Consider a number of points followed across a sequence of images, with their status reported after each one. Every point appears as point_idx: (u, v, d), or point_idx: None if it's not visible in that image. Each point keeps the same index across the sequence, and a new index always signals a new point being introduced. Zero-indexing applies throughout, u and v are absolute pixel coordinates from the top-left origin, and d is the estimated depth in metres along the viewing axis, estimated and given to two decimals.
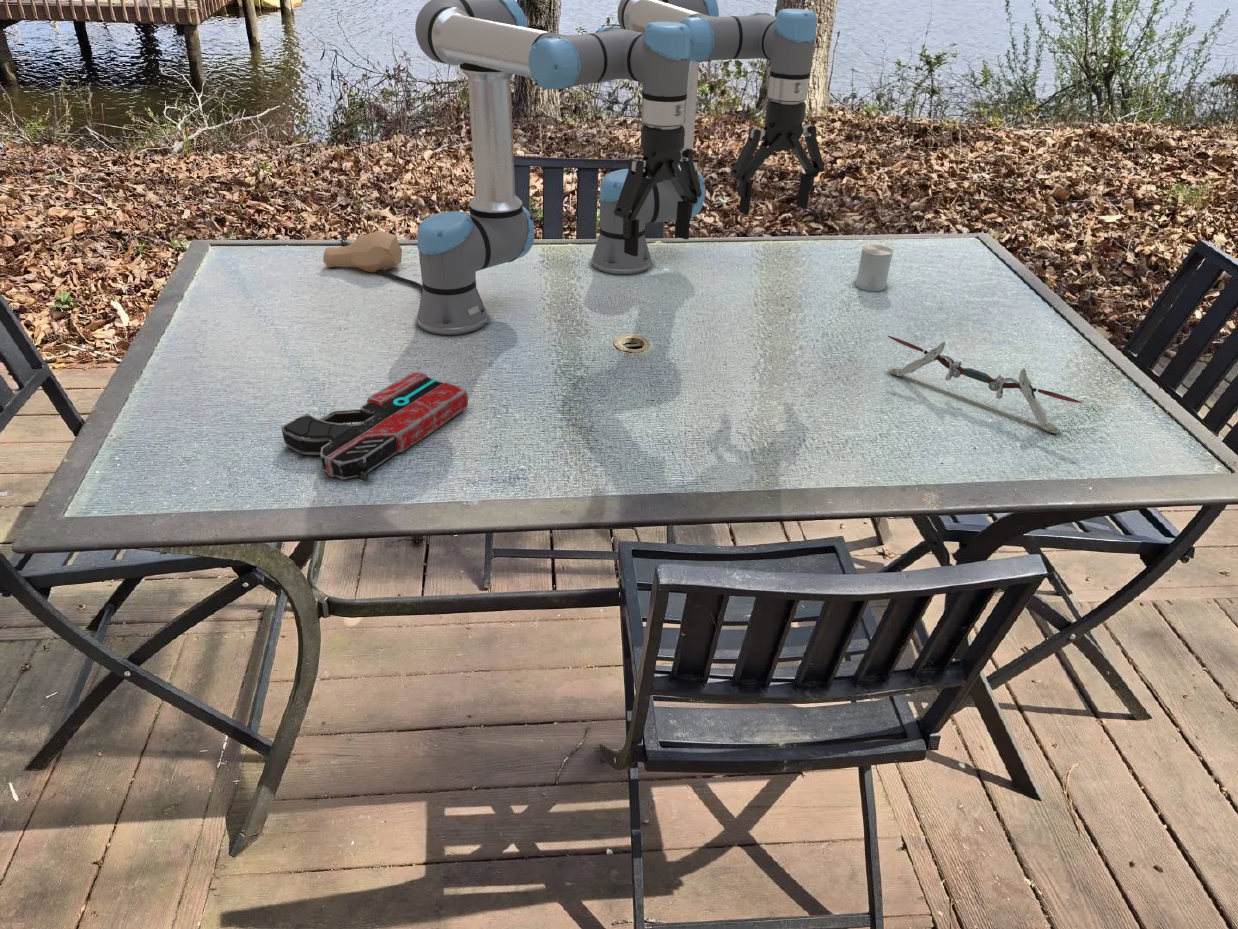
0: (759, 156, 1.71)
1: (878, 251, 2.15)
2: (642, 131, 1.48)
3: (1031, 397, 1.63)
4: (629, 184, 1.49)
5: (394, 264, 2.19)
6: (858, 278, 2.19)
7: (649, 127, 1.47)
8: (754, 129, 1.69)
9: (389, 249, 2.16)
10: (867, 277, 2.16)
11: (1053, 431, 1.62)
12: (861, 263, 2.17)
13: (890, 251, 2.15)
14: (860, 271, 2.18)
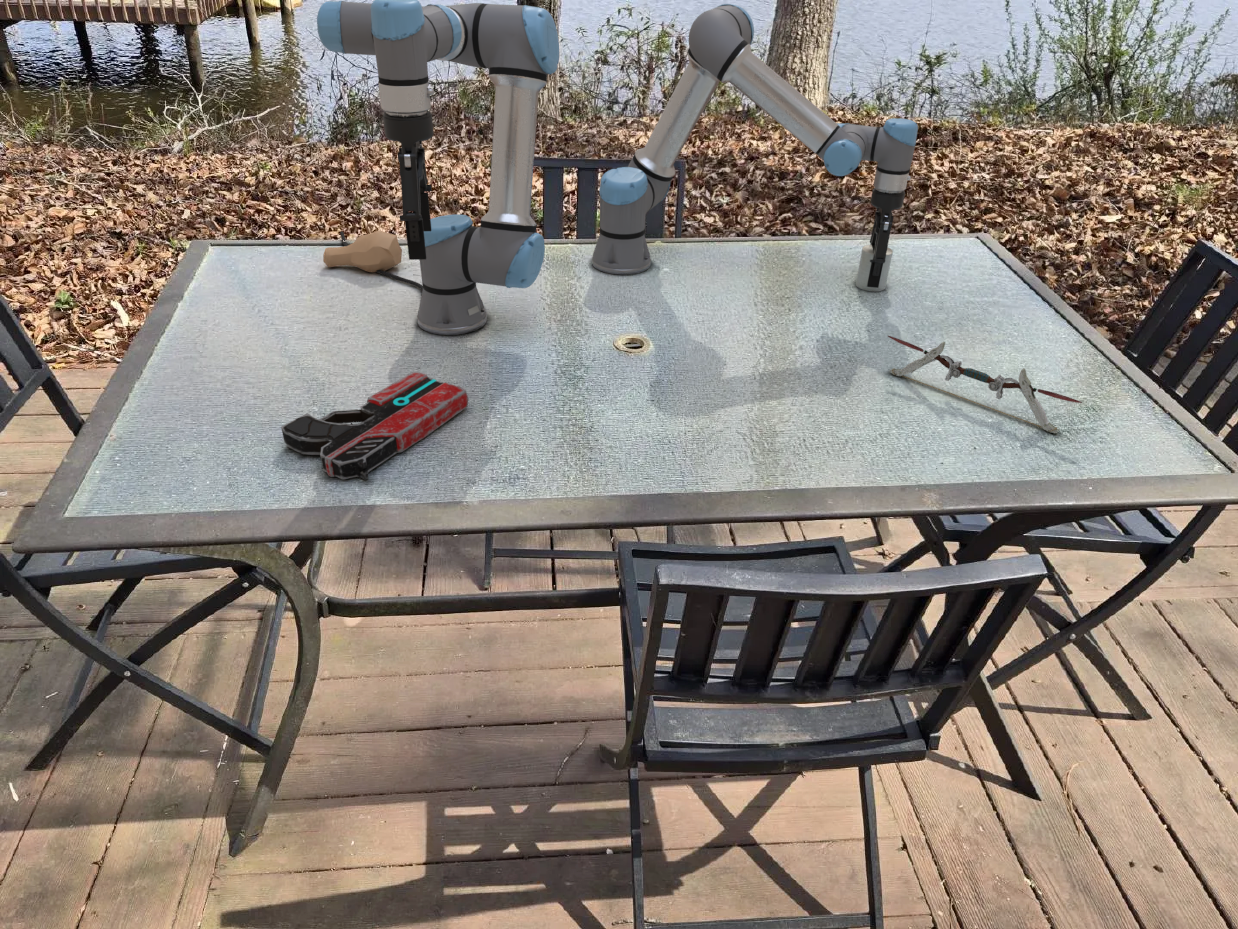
0: None
1: None
2: (395, 122, 1.33)
3: (1031, 397, 1.63)
4: (409, 182, 1.34)
5: (394, 264, 2.19)
6: (858, 278, 2.19)
7: (403, 116, 1.33)
8: (887, 223, 2.05)
9: (389, 249, 2.16)
10: (867, 277, 2.16)
11: (1053, 431, 1.62)
12: (861, 263, 2.17)
13: (890, 251, 2.15)
14: (860, 271, 2.18)
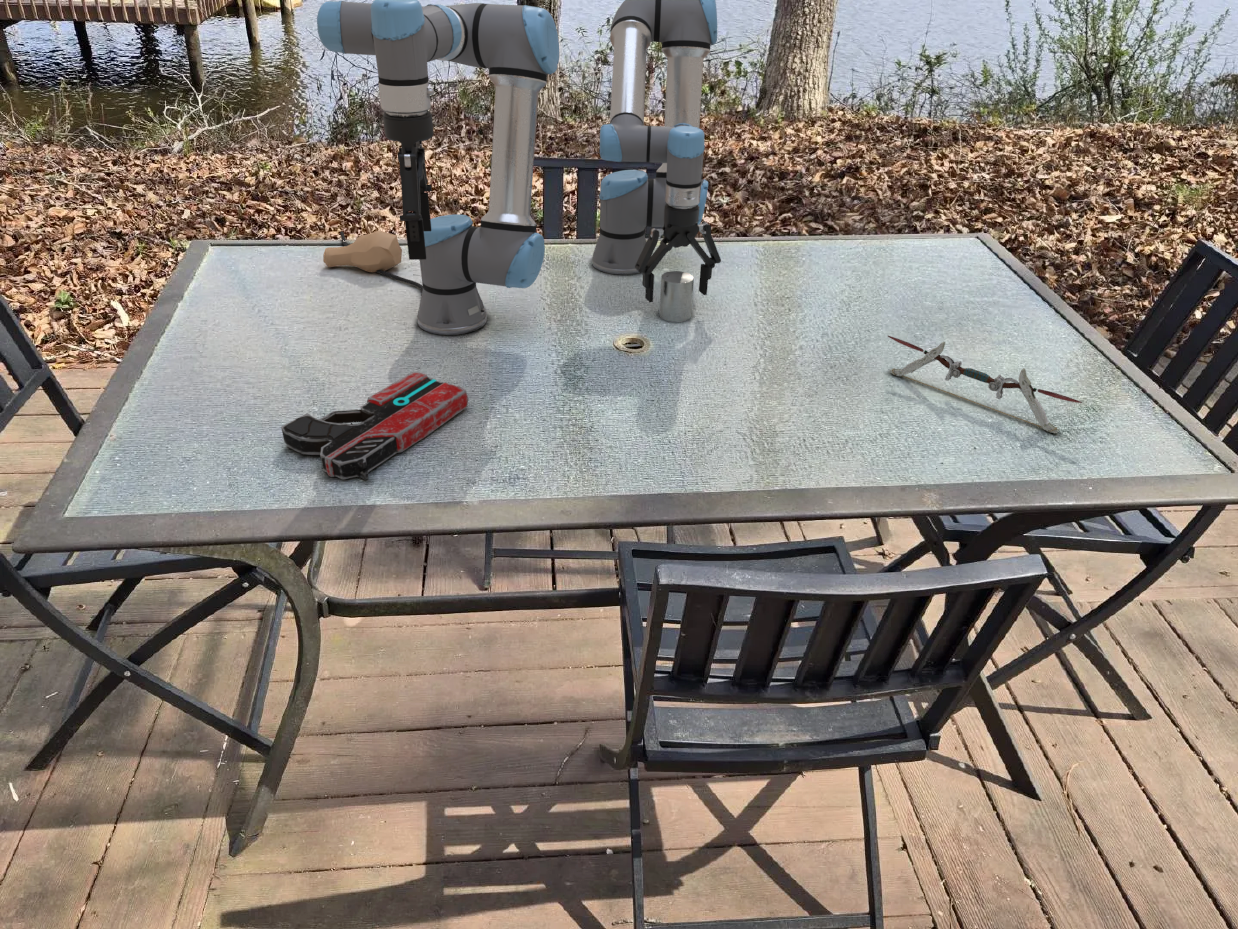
0: (659, 252, 1.92)
1: (672, 277, 1.97)
2: (395, 122, 1.33)
3: (1031, 397, 1.63)
4: (409, 182, 1.34)
5: (394, 264, 2.19)
6: None
7: (403, 116, 1.33)
8: (653, 229, 1.89)
9: (389, 249, 2.16)
10: (660, 300, 2.01)
11: (1053, 431, 1.62)
12: None
13: (681, 282, 1.95)
14: None
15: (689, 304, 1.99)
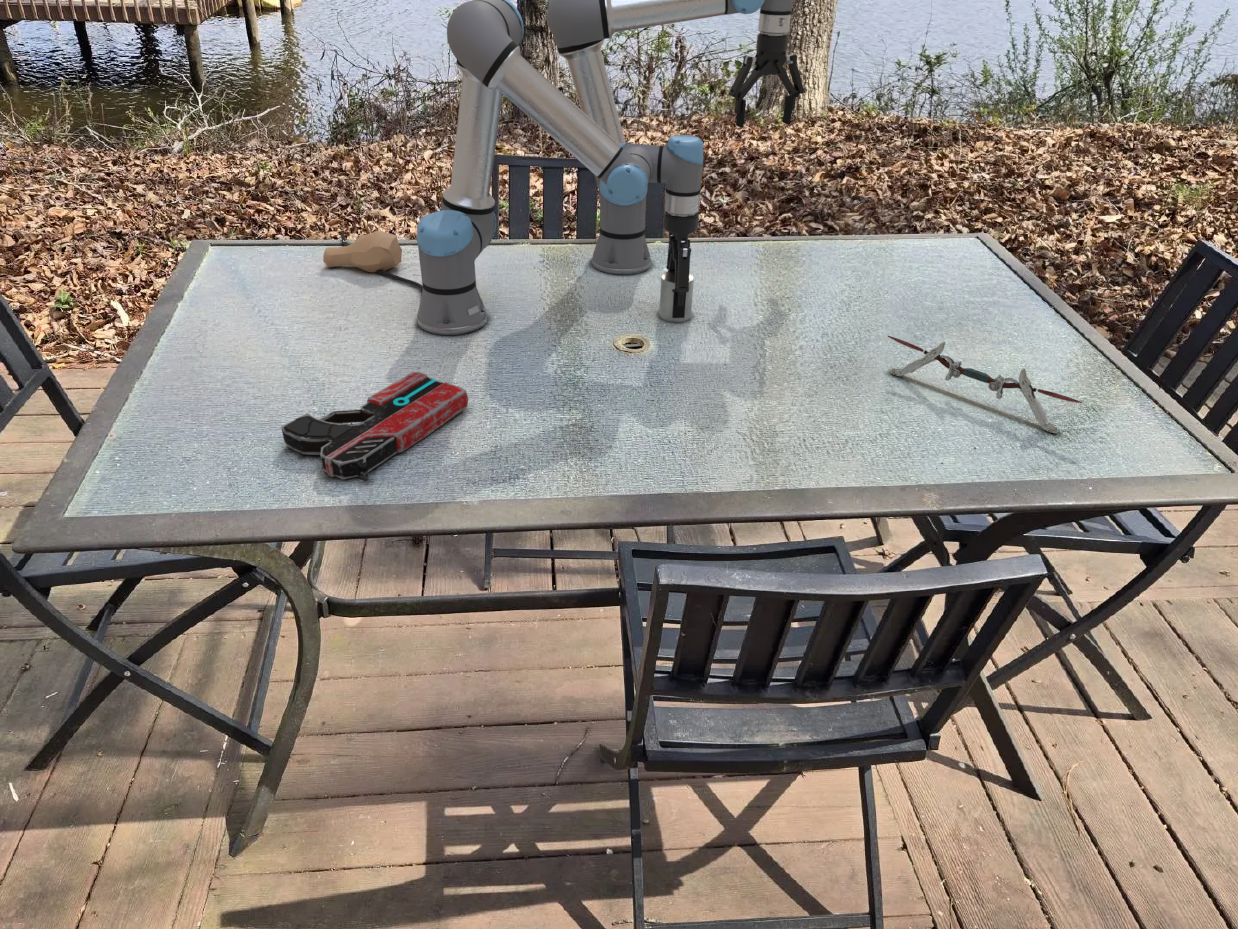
0: (751, 78, 2.16)
1: (672, 277, 1.97)
2: (676, 221, 1.87)
3: (1031, 397, 1.63)
4: (684, 267, 1.89)
5: (394, 264, 2.19)
6: None
7: (683, 216, 1.87)
8: (747, 56, 2.13)
9: (389, 249, 2.16)
10: (660, 300, 2.01)
11: (1053, 431, 1.62)
12: None
13: None
14: None
15: (689, 304, 1.99)
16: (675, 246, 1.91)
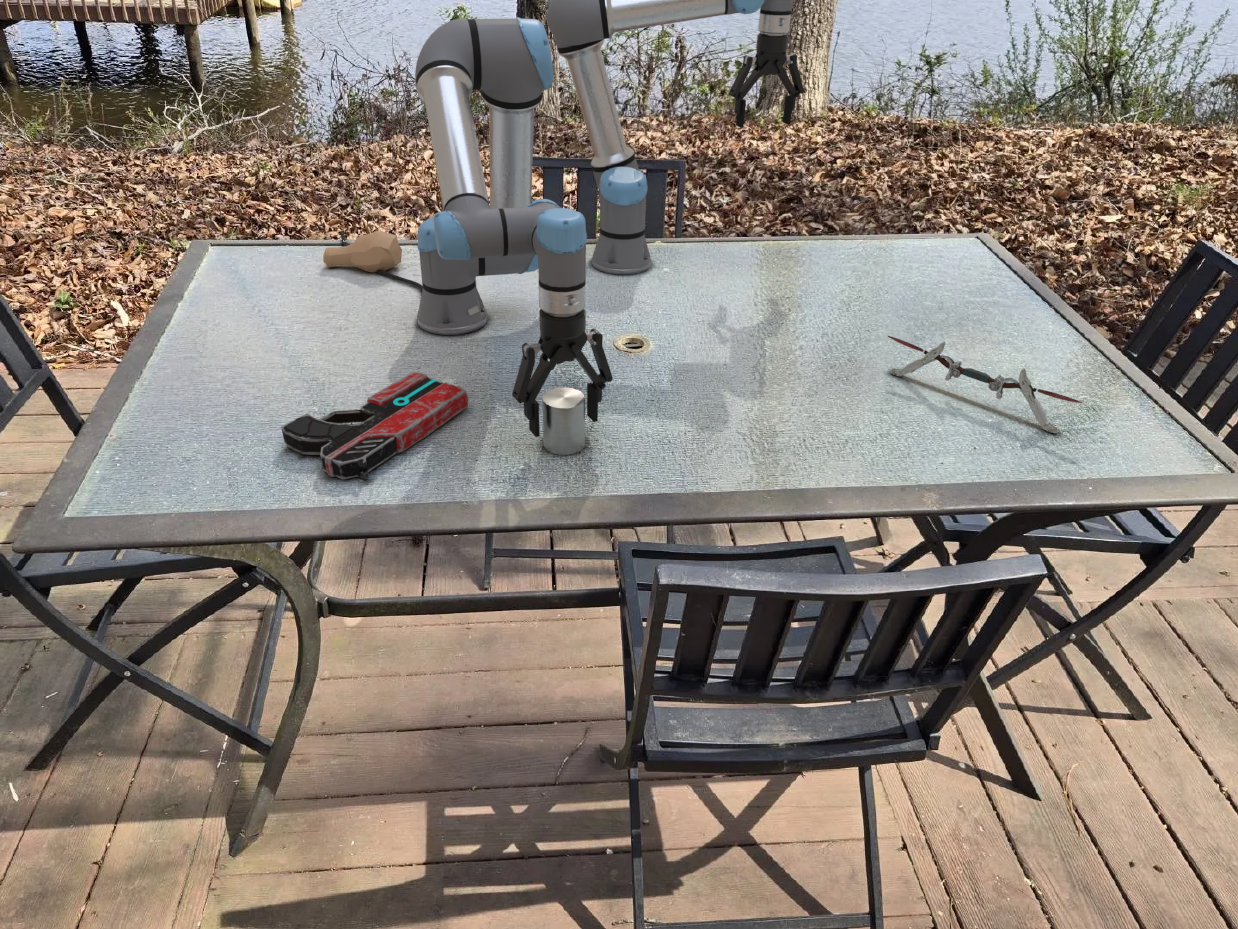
0: (751, 78, 2.16)
1: (558, 394, 1.51)
2: (539, 314, 1.42)
3: (1031, 397, 1.63)
4: (522, 369, 1.44)
5: (394, 264, 2.19)
6: None
7: (544, 312, 1.40)
8: (747, 56, 2.13)
9: (389, 249, 2.16)
10: None
11: (1053, 431, 1.62)
12: None
13: (548, 402, 1.49)
14: None
15: (557, 436, 1.51)
16: None
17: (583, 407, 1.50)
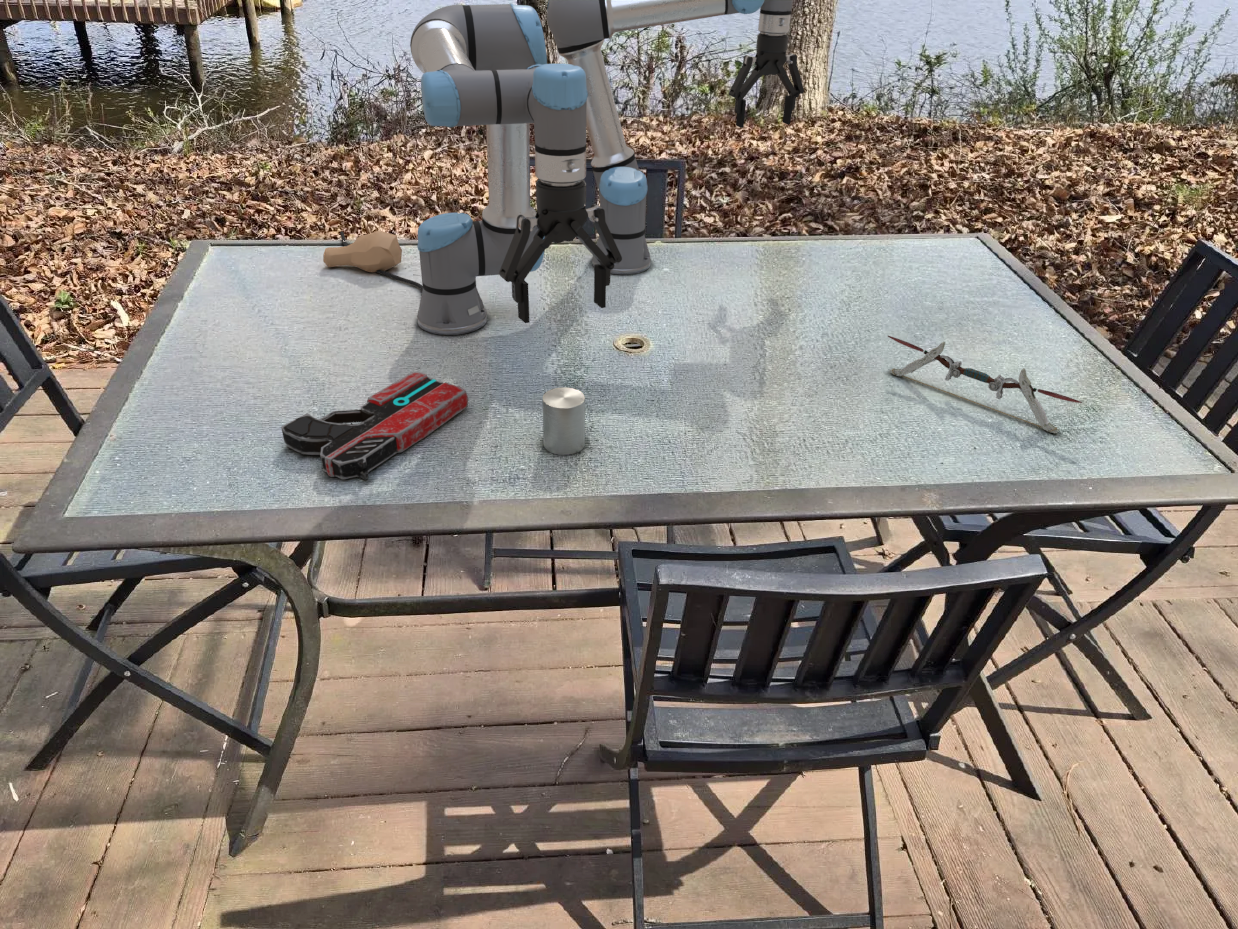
0: (751, 78, 2.16)
1: (558, 394, 1.51)
2: None
3: (1031, 397, 1.63)
4: (514, 244, 1.32)
5: (394, 264, 2.19)
6: None
7: (540, 182, 1.29)
8: (747, 56, 2.13)
9: (389, 249, 2.16)
10: None
11: (1053, 431, 1.62)
12: None
13: (548, 402, 1.49)
14: None
15: (557, 436, 1.51)
16: None
17: (583, 407, 1.50)
